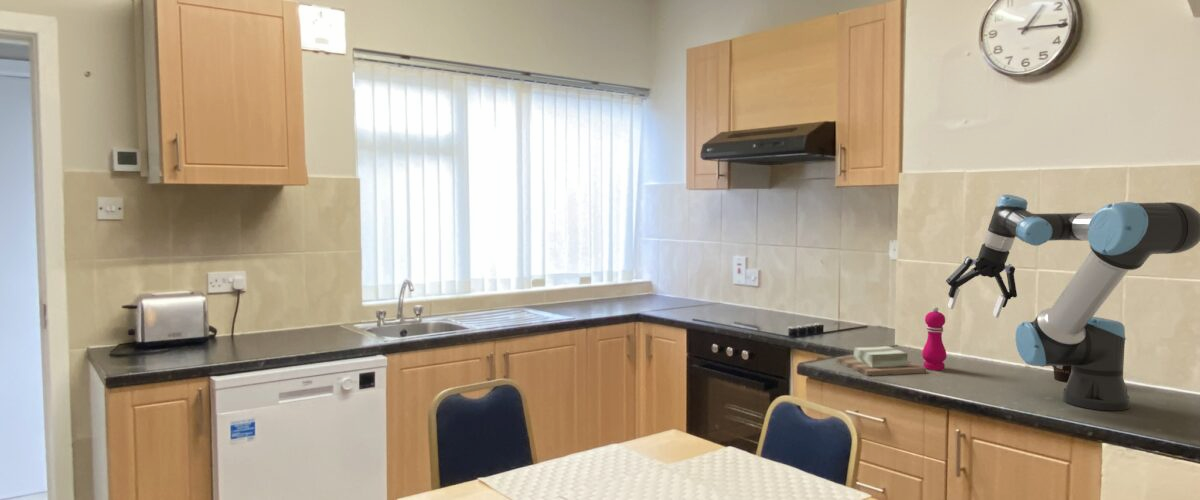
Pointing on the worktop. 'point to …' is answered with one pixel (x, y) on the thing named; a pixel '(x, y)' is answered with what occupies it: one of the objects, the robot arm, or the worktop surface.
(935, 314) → the pepper mill
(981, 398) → the worktop surface
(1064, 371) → the coffee mug
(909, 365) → the base
